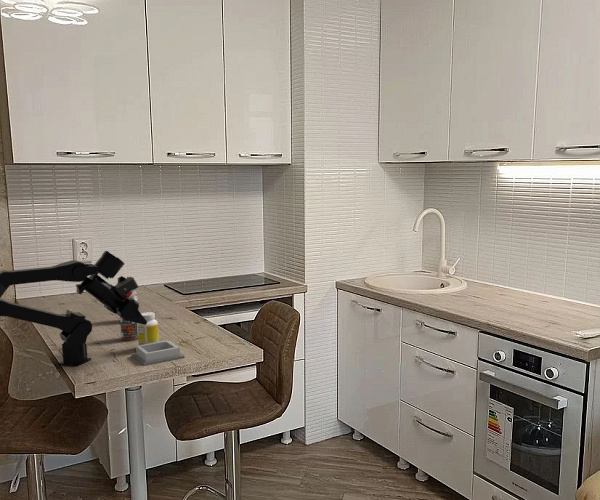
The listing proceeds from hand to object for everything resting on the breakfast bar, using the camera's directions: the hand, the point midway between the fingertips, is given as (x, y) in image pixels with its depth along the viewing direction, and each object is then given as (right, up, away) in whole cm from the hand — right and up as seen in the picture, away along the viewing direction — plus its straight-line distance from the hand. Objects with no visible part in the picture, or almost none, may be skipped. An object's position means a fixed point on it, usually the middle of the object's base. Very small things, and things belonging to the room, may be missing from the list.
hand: (141, 320), depth 179 cm
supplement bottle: (-7, -8, +14) cm, 18 cm away
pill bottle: (+2, -9, +2) cm, 10 cm away
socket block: (+7, -10, -7) cm, 14 cm away
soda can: (-15, -5, +39) cm, 42 cm away
